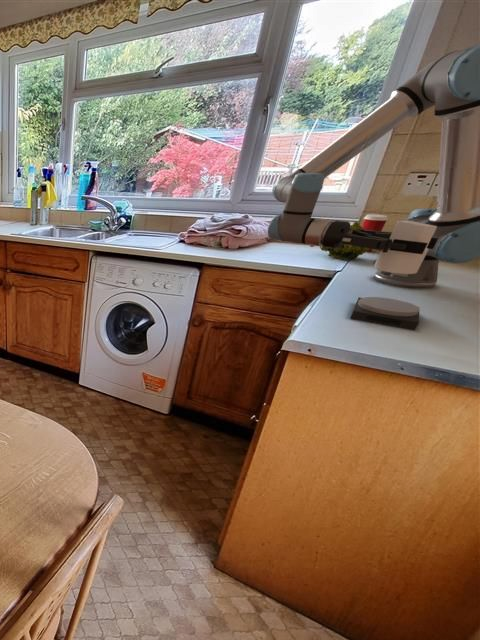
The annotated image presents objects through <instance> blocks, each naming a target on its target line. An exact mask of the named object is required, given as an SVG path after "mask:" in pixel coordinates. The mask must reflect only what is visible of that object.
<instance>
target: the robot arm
mask: <svg viewBox="0 0 480 640" xmlns="http://www.w3.org/2000/svg"><path fill="white" fill-rule="evenodd" d="M432 107H434V118H436V119H438V120H440V121H441V135H440V150H439V151H440V153H439V169H438V185H437V200H436V201H437V202H436V208H417V209H414V210H412V211H411V212H410V214H409V216H408V217H407V218H406V220H405V221H413V222H418V223H423V224H428V225H433V226H437V228H436V230H435V232H434V234H433V236H432V238H431V240H430V242H429V244H428V243H423V242H415V241H407V240H399V239H394V240H391V239H389V238H390V236H391V234H392V232H393V231H383V230H382V231H373V230H365V229H356V230H353V231H351V230H350V226H351V222H350V221H346V220H336V219H335V220H333V219H332V218H331V219H330V218H320V217H312V216H313V214H314V209H315V208H316V204H317V202H318V199H319V196H320V194H321V191H322V189H323V186H324V181H325V179H326V178H327V177H329V176H330V175H332V174H333V173H335V172H336V171H337V170H339V169H340V168H342V167H343V166H344V165H346V164H347V163H348V162H349V161H351V160H352V159H353V158H355V157H356V156H358V155H359V154H361V153H362V152H363V151H365V150H366V149H368V148H369V147H370V146H372V145H373V144H374V143H376V142H377V141H378V140H380V139H381V138H383V137H384V136H385V135H386V134H388V133H390V132H391V131H392V130H394V129H395V128H396V127H398V126H399V125H400V124H402V123H403V122H404V121H406V120H407V119H414V118H416V117H418V116H419V115H420V114H422V113H423V112H424V111H427V110H428V109H430V108H432ZM271 193H272V196H273V198H274V199H275V200H277V201H278V202H280V203H283V204H284V203H285V205H284V208H283V211H282V212H281V213H280V214H276V215H274V216H273V217H272V218H271V220H270V223H269V225H268V228H267V236H268V237H269V239H272V240H277V241H281V242H287V243H293V244H295V243H296V244H303V245H309V247H310V248H314V247H315V246H318V247H320V246H321V247H322V245H323V246H324V247H329V248H339V247H340V246H342V244H346V245H353V246H359V247H365V248H371V249H372V250H378V251H381V250H383V252H384V253H387V252H388V249H389V248H390V249H389V250H393V251H401V252H408V253H415V254H423V252H424V250H425V248H426V246H427V244H428V246H427V249H428V252H427V254H426V256H425V258H424V260H423V262H422V264H421V265H420V267H419V269H418V271H417V273H414V274H400V273H391V272H386V271H381V270H378V269H377V270H376V272H375V273H374V275H373V278H372V279H373V280H374V281H375V282H378V283H381V284H385V285H388V286H393V287H399V288H405V289H418V290H419V289H420V290H421V289H423V290H424V289H433V288H434V287H435V286H436V284H437V282H438V274H439V262H440V261H441V262H444V263H451V264H465V263H469V262H471V261H475V260H478V259H479V258H480V44H477V45H476V44H475V45H473V46H470V47H466V48H463V49H458V50H454V51H450V52H448V53H446V54H444V55H441V56H440V57H438V58H436V59H434V60H433V61H431V62H430V63H428V64H427V65H426V66H425V67H423V68H422V69H421V70H419V71H418V72H417V73H415V74H414V75H413V76H412V77H410V78H409V79H408V80H407V81H405V82H404V83H402V84H401V85H400V86H398V88H396V89H395V90H393V91H392V92H391V93H390V96H389V99H387V100H386V101H385V102H383V103H382V104H381V105H380V106H378V107H377V108H376V109H374V110H373V111H372V112H370V113H369V114H368V115H366V116H365V117H364V118H363V119H362V120H360V121H359V122H357V124H354V125H353V126H352V127H351V128H350V129H349V130H347V131H346V132H344V133H343V134H342V135H340V136H339V137H338V138H337V139H335V140H334V141H332V143H330V144H329V145H328V146H326V147H325V148H323V149H322V150H321V151H320V152H318V153H317V154H316V155H314V156H313V157H312V158H310V159H309V160H308V161H306V162H305V163H304V164H303V165H301V166H300V167H299V168H298V169H296V170H295V171H293V172H292V173H291V174H290V175H287V176H283V177H281V178H279V179H278V180H277V181H276V182H275V183H274V185H273V186H272V190H271ZM392 241H393V242H392Z"/></svg>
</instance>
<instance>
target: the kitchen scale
mask: <svg viewBox="0 0 480 640" xmlns="http://www.w3.org/2000/svg"><path fill="white" fill-rule="evenodd" d="M420 311H421V308H420V306H417V305H416V304H414V303H410V302H408V301H405V300H399V299H395V298H389V297H379V296H366V297H358V298H357V300H356V303H355V305H354V308H353V310H352V312H351V315H350V317H349V318H350V320H355V321H359V322H366V323H372V324H376V325H382V326H388V327H393V328H400V329H404V330H410V331H416V329H417V327H418V325H419V323H420Z"/></svg>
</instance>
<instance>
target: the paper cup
mask: <svg viewBox="0 0 480 640" xmlns="http://www.w3.org/2000/svg"><path fill="white" fill-rule="evenodd" d="M363 219H364V220H363V222H362V224H361V226H362V229H365V230H373V231H383V228H384V227H385V225H386V223H387V221H388V220H389V219H388V215H386V214H385V215H384V214H375V213H373V214H371V213H370V214H366V215H365V216H364V217H363ZM371 251H373V249H371V248H370V249H369V250H368V251H367V252H366V253H369V252H371Z"/></svg>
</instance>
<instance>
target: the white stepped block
mask: <svg viewBox="0 0 480 640" xmlns="http://www.w3.org/2000/svg"><path fill="white" fill-rule="evenodd" d="M436 228H437V226H433V225H428V224H423V223H418V222H413V221H406V220H397V221H396V223H395V225H394V227H393V230H392V231H391V232H392V234H391V236H390V238H389V239H391V240H394V239H399V240H407V241H415V242H423V243H428V244H429V242H430V240H431V238H432V236H433V234H434V232H435V230H436ZM392 242H393V241H392ZM428 244H427V246H428ZM427 246H426V248H425V250H424V252H423V254H415V253H408V252H401V251H393V250H389V249H390V248H389V249H388V252H387V253H384V252H383V250H380V252H379V254H378V256H377V258H376V261H375V263H374V265H373V268H374V269H375V270H377V271H378V270H381V271H386V272H391V273H400V274H414V273H417V271H418V269H419V267H420V265H421V264H422V262H423V260H424V258H425V256H426V254H427V252H428V249H427Z"/></svg>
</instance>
